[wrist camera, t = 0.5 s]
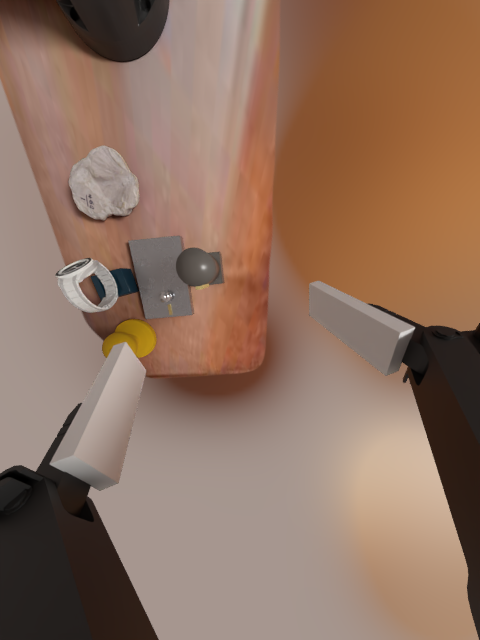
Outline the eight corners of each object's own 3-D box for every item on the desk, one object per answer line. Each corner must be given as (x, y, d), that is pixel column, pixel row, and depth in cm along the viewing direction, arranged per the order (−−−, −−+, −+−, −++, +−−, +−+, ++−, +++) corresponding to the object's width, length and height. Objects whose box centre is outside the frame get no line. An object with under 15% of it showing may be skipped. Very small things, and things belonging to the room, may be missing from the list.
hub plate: (133, 242, 33) (120, 238, 29) (182, 237, 33) (175, 232, 29) (149, 317, 36) (139, 322, 33) (194, 313, 36) (189, 317, 33)
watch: (126, 258, 34) (73, 250, 23) (143, 300, 36) (101, 311, 25) (98, 266, 34) (33, 262, 23) (116, 307, 36) (63, 321, 25)
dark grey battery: (193, 256, 34) (170, 248, 23) (221, 253, 33) (212, 244, 23) (197, 286, 35) (178, 291, 24) (224, 283, 35) (217, 288, 24)
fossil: (148, 204, 29) (77, 219, 26) (150, 217, 35) (93, 231, 32) (120, 138, 26) (37, 146, 23) (127, 164, 32) (62, 174, 29)
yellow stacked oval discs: (143, 362, 39) (110, 339, 38) (164, 335, 37) (130, 310, 36) (120, 382, 32) (79, 355, 30) (145, 349, 30) (103, 319, 29)
